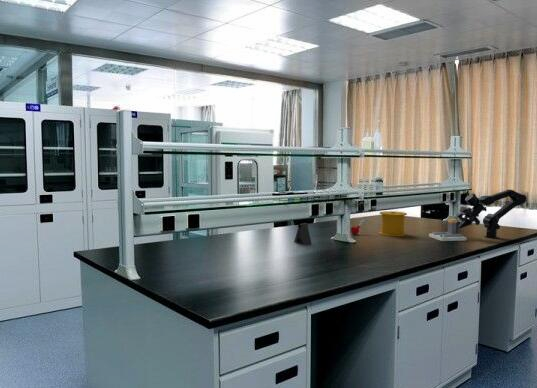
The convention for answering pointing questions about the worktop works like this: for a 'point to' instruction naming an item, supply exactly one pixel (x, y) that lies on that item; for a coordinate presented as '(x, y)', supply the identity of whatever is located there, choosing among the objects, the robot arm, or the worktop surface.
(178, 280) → the worktop surface
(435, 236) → the white rail base plate
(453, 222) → the breaker handle
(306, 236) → the phone stand
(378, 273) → the worktop surface
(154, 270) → the worktop surface
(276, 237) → the worktop surface
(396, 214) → the spool
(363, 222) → the molecular model
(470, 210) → the robot arm
